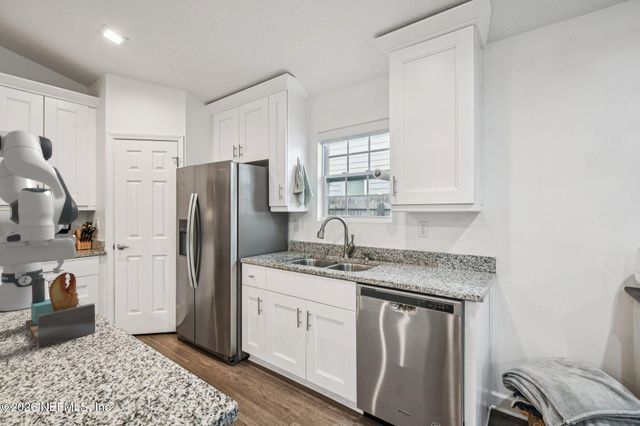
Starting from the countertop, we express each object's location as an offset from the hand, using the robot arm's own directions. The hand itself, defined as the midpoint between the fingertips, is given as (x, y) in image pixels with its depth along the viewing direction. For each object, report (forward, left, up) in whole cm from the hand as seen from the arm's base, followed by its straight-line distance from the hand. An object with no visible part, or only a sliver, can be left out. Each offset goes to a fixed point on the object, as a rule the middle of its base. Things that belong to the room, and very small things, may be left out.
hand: (38, 275), depth 100 cm
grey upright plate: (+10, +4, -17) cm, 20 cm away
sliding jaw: (+1, +3, -15) cm, 16 cm away
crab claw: (+18, +4, -17) cm, 25 cm away
